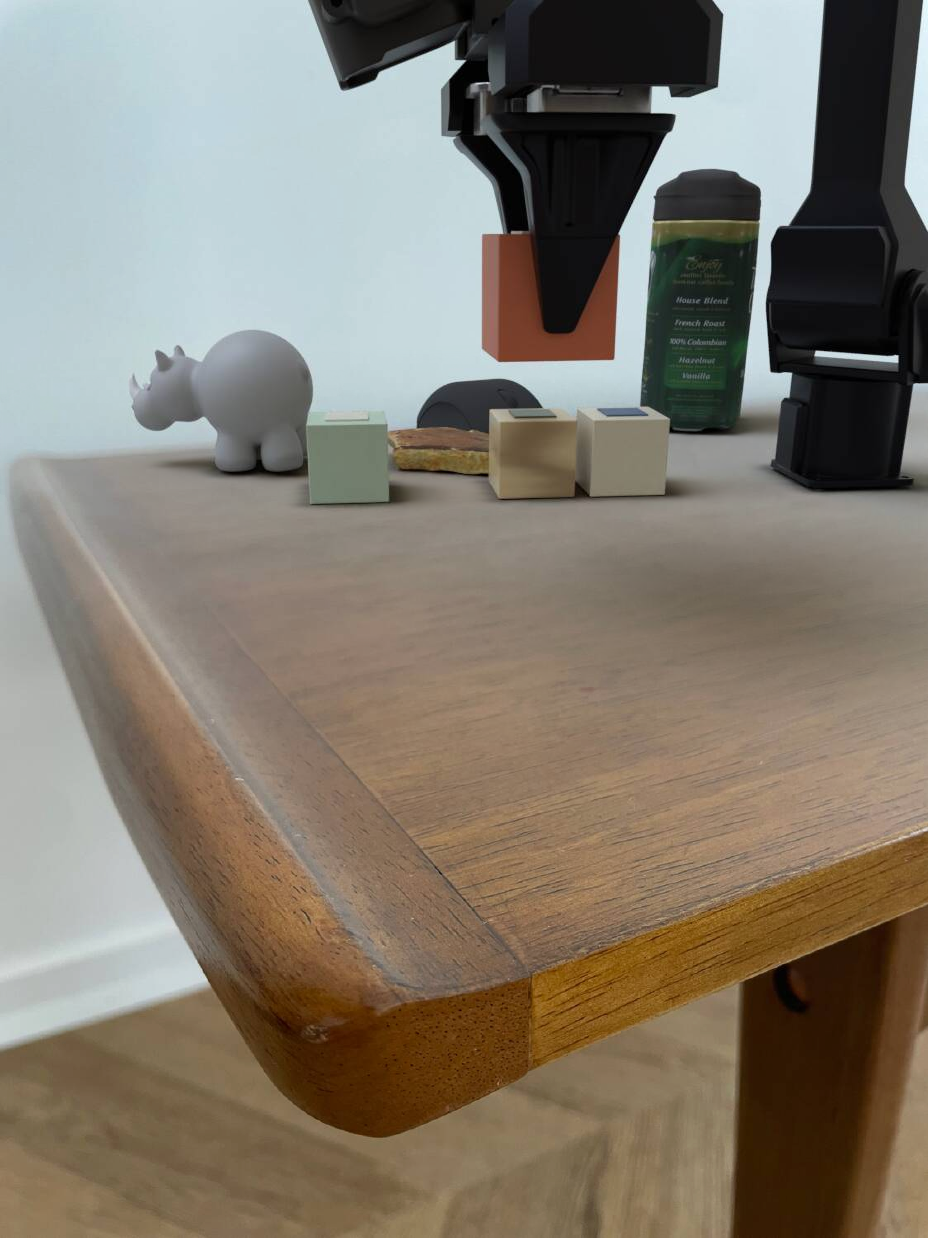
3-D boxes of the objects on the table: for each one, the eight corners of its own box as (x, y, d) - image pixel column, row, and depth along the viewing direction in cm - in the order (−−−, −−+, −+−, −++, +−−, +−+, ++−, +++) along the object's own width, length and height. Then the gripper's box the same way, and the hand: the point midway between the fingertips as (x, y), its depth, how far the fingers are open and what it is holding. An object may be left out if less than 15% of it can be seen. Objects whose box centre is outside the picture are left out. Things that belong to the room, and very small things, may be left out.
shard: (550, 480, 63) (551, 450, 63) (436, 492, 60) (436, 461, 60) (472, 448, 73) (472, 422, 72) (369, 458, 69) (369, 431, 69)
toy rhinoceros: (161, 451, 72) (148, 323, 69) (330, 456, 70) (324, 325, 67) (114, 473, 65) (97, 333, 62) (299, 479, 63) (291, 335, 60)
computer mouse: (484, 451, 72) (485, 392, 70) (409, 426, 81) (408, 374, 79) (559, 442, 75) (561, 386, 73) (479, 419, 84) (479, 369, 82)
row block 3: (644, 478, 64) (648, 404, 62) (665, 495, 60) (670, 416, 58) (574, 479, 63) (577, 405, 62) (590, 496, 59) (593, 418, 58)
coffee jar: (742, 436, 77) (768, 164, 71) (635, 431, 79) (651, 165, 72) (739, 415, 86) (762, 172, 80) (643, 411, 88) (657, 173, 81)
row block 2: (559, 480, 63) (562, 405, 62) (574, 497, 59) (577, 418, 58) (488, 482, 63) (489, 407, 61) (498, 499, 59) (499, 419, 57)
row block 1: (386, 484, 62) (384, 408, 61) (389, 502, 58) (387, 421, 57) (312, 486, 62) (308, 410, 60) (310, 504, 58) (305, 422, 56)
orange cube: (587, 347, 43) (591, 230, 41) (614, 360, 39) (620, 230, 37) (481, 349, 42) (481, 231, 41) (497, 362, 38) (498, 231, 36)
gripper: (316, -87, 42) (334, 311, 48) (307, -305, 25) (338, 360, 30) (583, -79, 44) (571, 308, 49) (752, -281, 26) (704, 353, 32)
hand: (545, 327), depth 40 cm, fingers closed on orange cube, 4 cm apart
